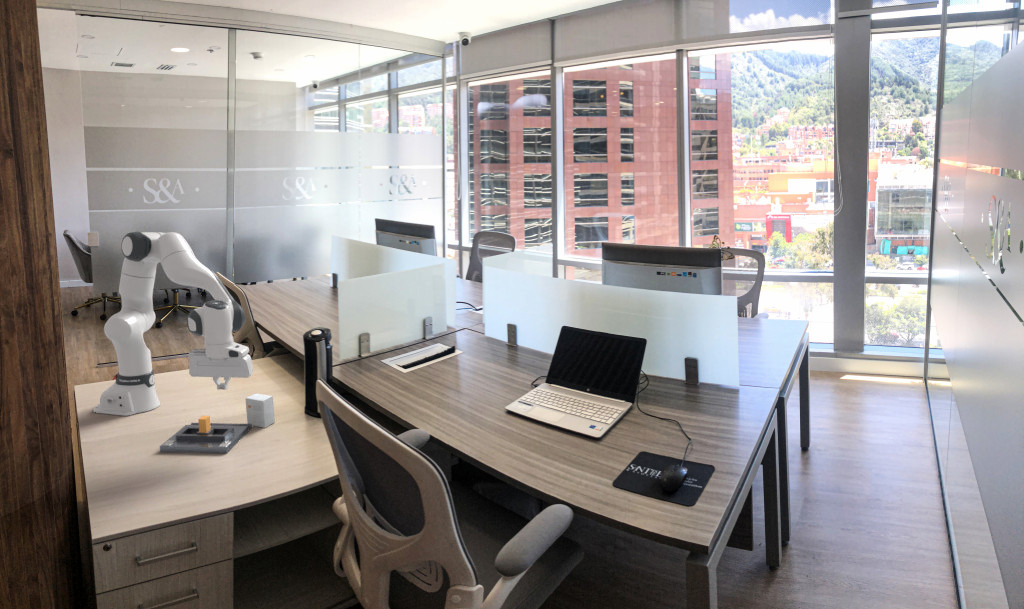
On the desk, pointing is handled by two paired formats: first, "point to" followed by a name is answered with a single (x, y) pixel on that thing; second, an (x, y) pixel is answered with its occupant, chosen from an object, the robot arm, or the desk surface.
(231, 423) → the twin grey rods
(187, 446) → the breaker panel
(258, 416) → the small box
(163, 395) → the desk surface
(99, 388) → the desk surface
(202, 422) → the lever
